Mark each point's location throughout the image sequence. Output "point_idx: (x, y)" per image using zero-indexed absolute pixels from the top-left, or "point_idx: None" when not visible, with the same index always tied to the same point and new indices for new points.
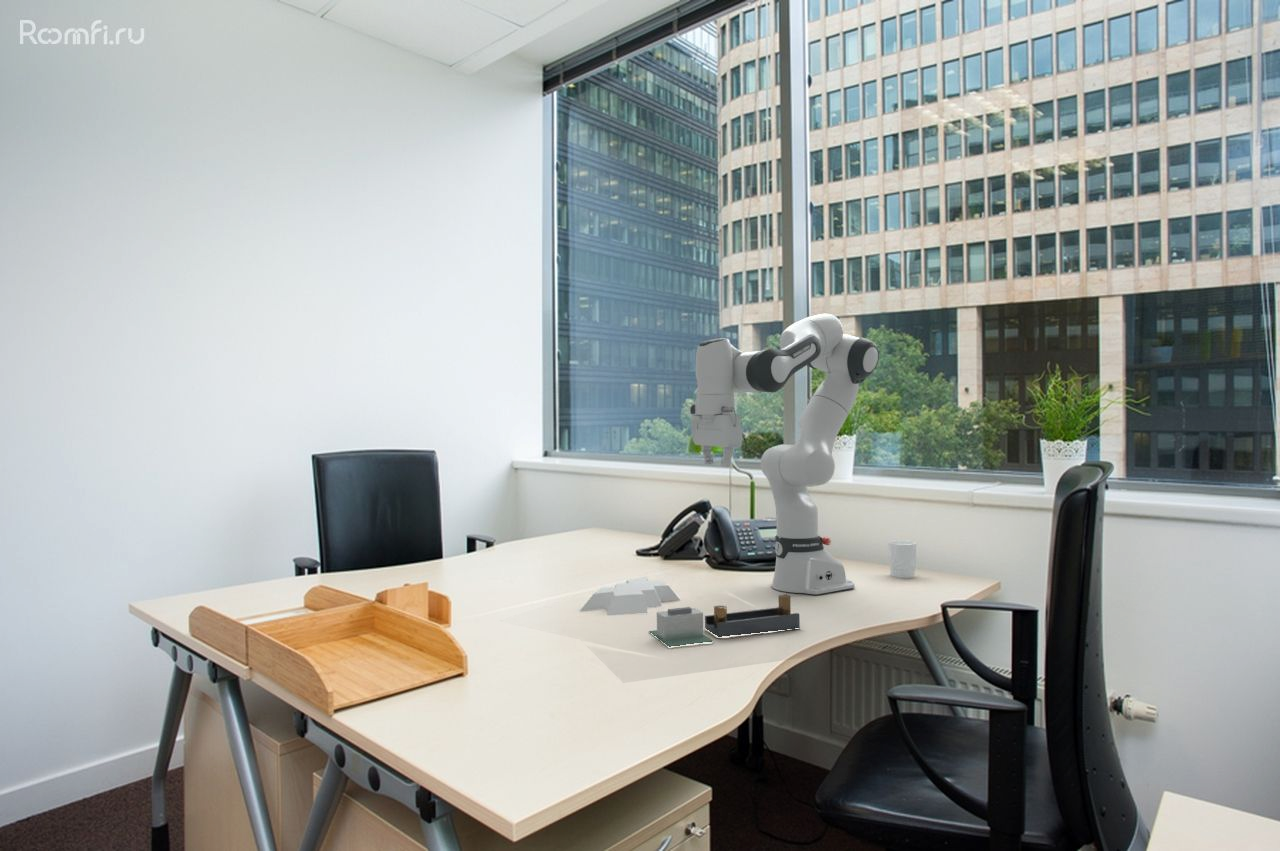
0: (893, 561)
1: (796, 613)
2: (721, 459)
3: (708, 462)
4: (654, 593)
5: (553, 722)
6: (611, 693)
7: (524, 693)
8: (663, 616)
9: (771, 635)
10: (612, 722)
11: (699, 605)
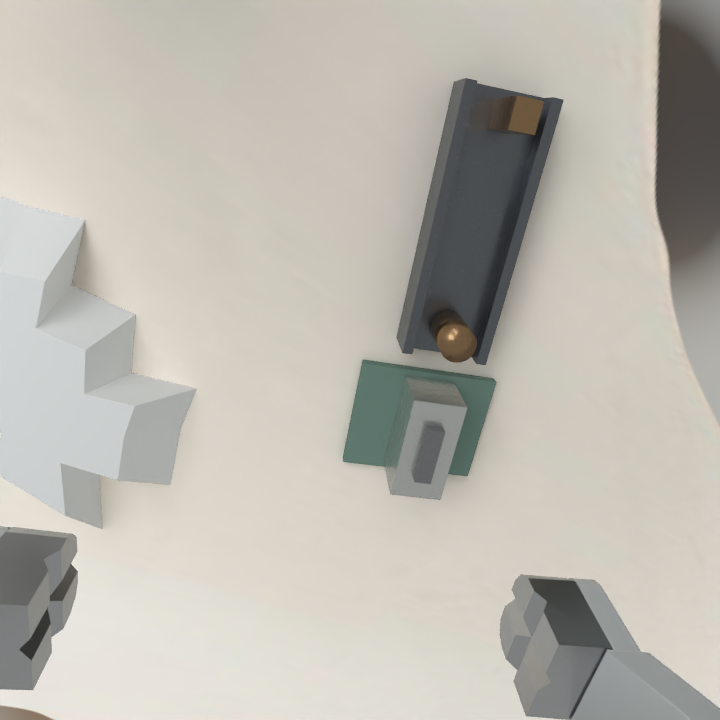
0: None
1: (554, 104)
2: (534, 711)
3: (64, 601)
4: (96, 348)
5: None
6: None
7: (500, 707)
8: (434, 498)
9: (531, 213)
10: (668, 656)
11: (133, 187)
